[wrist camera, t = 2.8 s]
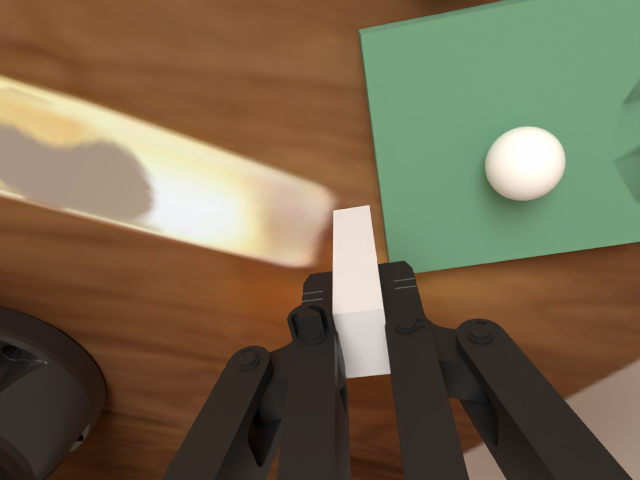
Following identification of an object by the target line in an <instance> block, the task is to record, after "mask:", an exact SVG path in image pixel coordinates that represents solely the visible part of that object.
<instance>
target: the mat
mask: <svg viewBox="0 0 640 480" xmlns="http://www.w3.org/2000/svg"><path fill="white" fill-rule="evenodd" d="M358 32H359V40H360V48H361V56H362V63H363V71H364V79H365V86H366V94H367V102H368V109H369V117H370V125H371V133H372V140H373V148H374V156H375V163H376V171H377V179H378V187H379V194H380V202H381V210H382V217H383V225H384V233H385V240H386V248H387V256H388V262H389V263H391V262H398V261H406V262H407V263H408V264H409V265H410V266H411V267H412V268H413V272H414V273H421V272H428V271H435V270H442V269H449V268H456V267H463V266H470V265H477V264H484V263H492V262H499V261H506V260H513V259H520V258H527V257H534V256H541V255H548V254H555V253H562V252H570V251H577V250H584V249H591V248H598V247H605V246H612V245H619V244H626V243H633V242H640V0H504V1H499V2H494V3H489V4H484V5H479V6H474V7H469V8H464V9H459V10H454V11H449V12H444V13H439V14H435V15H430V16H425V17H420V18H415V19H410V20H405V21H400V22H395V23H390V24H385V25H380V26H375V27H370V28H365V29H360V30H358ZM525 126H532V127H538V128H541V129H544V130H546V131H548V132H550V133H551V134H553V135H554V136H555V137H556V138H557V139H558V140H559V142H560V143H561V145H562V147H563V149H564V153H565V158H566V164H565V170H564V173H563V175H562V178H561V179H560V181H559V182H558V184H557V185H556V186H555V187H554V188H553V189H552V190H551V191H550V192H548V193H547V194H545V195H543V196H541V197H539V198H536V199H533V200H527V201H518V200H512V199H509V198H506V197H504V196H502V195H501V194H499V193H498V192H497V191H495V190H494V188H493V187H492V186H491V185H490V183H489V181H488V179H487V177H486V172H485V160H486V156H487V153H488V151H489V149H490V147H491V146H492V144H493V143H494V142H495V140H496V139H497V138H499V137H500V136H501V135H502V134H504V133H506V132H507V131H509V130H512V129H514V128H518V127H525Z"/></svg>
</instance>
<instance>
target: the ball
mask: <svg viewBox="0 0 640 480" xmlns="http://www.w3.org/2000/svg"><path fill="white" fill-rule="evenodd" d="M565 164H566V158H565V153H564V149H563V147H562V145H561V143H560V142H559V140H558V139H557V138H556V137H555V136H554V135H553V134H551V133H550V132H548V131H546V130H544V129H541V128H538V127H532V126H525V127H518V128H514V129H512V130H509V131H507V132H506V133H504V134H502V135H501V136H500V137H499V138H497V139H496V140H495V142H494V143H493V144H492V146H491V147H490V149H489V151H488V153H487V156H486V160H485V172H486V177H487V179H488V181H489V183H490V185H491V186H492V187H493V188H494V190H495V191H497V192H498V193H499V194H501V195H502V196H504V197H506V198H509V199H512V200H518V201H527V200H533V199H536V198H539V197H541V196H543V195H545V194H547V193H548V192H550V191H551V190H552V189H553V188H554V187H555V186H556V185H557V184H558V182H559V181H560V179H561V178H562V175H563V173H564V170H565Z"/></svg>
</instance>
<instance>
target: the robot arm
mask: <svg viewBox="0 0 640 480" xmlns="http://www.w3.org/2000/svg"><path fill="white" fill-rule="evenodd" d="M287 321H288V325H289V328H290V331H291V335H292V338H293V341H292V342H291V343H289V344H288V345H286V346H284V347H282V348H280V349H278V350H275V351H272V352H270V353H269V352H268V351H267V350H266V349H265V348H264V347H260V346H249V347H246V348H243V349H241V350H239V351H238V352H236V353H235V354H234V355H233V356H232V357H231V359H230V360H229V361H228V363H227V365H226V367H225V368H224V370H223V372H222V374H221V376H220V377H219V379H218V381H217V383H216V384H215V386H214V388H213V390H212V392H211V393H210V395H209V397H208V399H207V400H206V402H205V404H204V406H203V408H202V409H201V411H200V413H199V415H198V416H197V418H196V420H195V422H194V424H193V425H192V427H191V429H190V431H189V432H188V434H187V436H186V438H185V440H184V441H183V443H182V445H181V447H180V448H179V450H178V452H177V454H176V456H175V457H174V459H173V461H172V463H171V464H170V466H169V468H168V470H167V472H166V473H165V475H164V477H163V479H162V480H266V479H267V476H268V473H269V471H270V468H271V465H272V463H273V460H274V457H275V455H276V452H277V449H278V446H279V444H280V441H281V449H280V458H279V466H278V475H277V480H351V477H350V445H349V413H348V390H347V386H346V382H345V373H346V377H347V378H353V377H363V376H372V375H382V374H391V380H392V387H393V395H394V403H395V410H396V418H397V425H398V433H399V441H400V448H401V456H402V464H403V471H404V479H405V480H469V477H468V473H467V469H466V465H465V461H464V458H463V454H462V450H461V446H460V442H459V438H458V434H457V430H456V426H455V423H454V419H453V415H452V411H451V407H450V403H449V399H448V397H452V398H457V399H460V402H461V404H462V406H463V408H464V409H465V411H466V413H467V414H468V416H469V418H470V419H471V421H472V423H473V424H474V426H475V428H476V429H477V431H478V433H479V434H480V436H481V438H482V439H483V441H484V443H485V444H486V446H487V448H488V449H489V451H490V453H491V454H492V456H493V458H494V459H495V460H496V463H497V464H498V466H499V468H500V469H501V471H502V473H503V474H504V476H505V477H506V479H507V480H632V478H631V477H630V476H629V475H628V474H627V473H626V471H625V470H624V469H623V468H622V467H621V466H620V465H619V463H618V462H617V461H616V460H615V459H614V458H613V456H612V455H611V454H610V453H609V452H608V451H607V449H605V447H604V446H603V445H602V444H601V443H600V441H599V440H598V439H597V438H596V437H595V435H594V434H593V433H592V432H591V431H590V430H589V429H588V427H587V426H586V425H585V424H584V423H583V422H582V420H581V419H580V418H579V417H578V416H577V414H576V413H575V412H574V411H573V410H572V409H571V408H570V406H569V405H568V404H567V403H566V402H565V401H564V399H563V398H562V397H561V396H560V395H559V394H558V392H557V391H556V390H555V389H554V388H553V387H552V385H551V384H550V383H549V382H548V381H547V380H546V378H545V377H544V376H543V375H542V374H541V373H540V371H539V370H538V369H537V368H536V367H535V366H534V364H533V363H532V362H531V361H530V360H529V359H528V357H527V356H526V355H525V354H524V353H523V352H522V351H521V349H520V348H519V347H518V346H517V345H516V344H515V342H514V341H513V340H512V339H511V338H510V337H509V335H508V334H507V333H506V332H505V331H504V330H503V328H501V327H500V326H499V325H498V324H496V323H495V322H492V321H489V320H486V319H471V320H468V321H466V322H463V323H462V324H461V325H460V326H459V327H458V328H457V329H449V328H443V327H440V326H437V325H435V324H433V323H431V322H430V321H429V320H428V319H427V318H426V316H425V314H424V311H423V307H422V303H421V299H420V295H419V292H418V288H417V284H416V280H415V276H414V272H413V268H412V267H411V266H410V265H409V264H408V263H407V262H406V261H398V262H391V263H383V264H378V263H377V256H376V249H375V242H374V235H373V229H372V222H371V215H370V208H369V205H368V206H361V207H355V208H348V209H342V210H335V211H334V218H333V271H331V272H324V273H316V274H310V275H309V277H308V278H307V279H306V281H305V282H304V286H303V296H302V305H300V306H298V307H296V308H295V309H294V310H293V311H292V312H291V313H290V314H289V316H288V318H287ZM105 400H106V389H105V384H104V380H103V378H102V375H101V373H100V371H99V369H98V368H97V366H96V365H95V363H94V362H93V360H92V359H91V358H90V357H89V355H88V354H87V353H86V352H85V351H84V350H83V349H82V348H81V347H80V346H79V345H77V344H76V343H75V342H74V341H73V340H71V339H70V338H69V337H67V336H66V335H64V334H63V333H62V332H60V331H58V330H57V329H55V328H53V327H51V326H50V325H48V324H46V323H44V322H42V321H40V320H37V319H35V318H33V317H30V316H28V315H25V314H22V313H19V312H16V311H12V310H9V309H4V308H0V480H46V479H47V478H48V477H49V476H50V475H51V474H52V473H53V472H54V471H55V470H56V469H57V468H58V467H59V465H60V464H61V463H62V462H63V461H64V460H65V459H66V457H67V456H68V455H69V454H70V452H72V451H74V450H75V449H76V448H77V447H79V446H80V445H81V444H82V443H83V442H84V440H85V439H86V438H87V437H88V435H89V434H90V433H91V431H92V429H93V427H94V425H95V423H96V421H97V420H98V418H99V416H100V414H101V412H102V410H103V408H104V405H105ZM281 438H282V440H281Z"/></svg>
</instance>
